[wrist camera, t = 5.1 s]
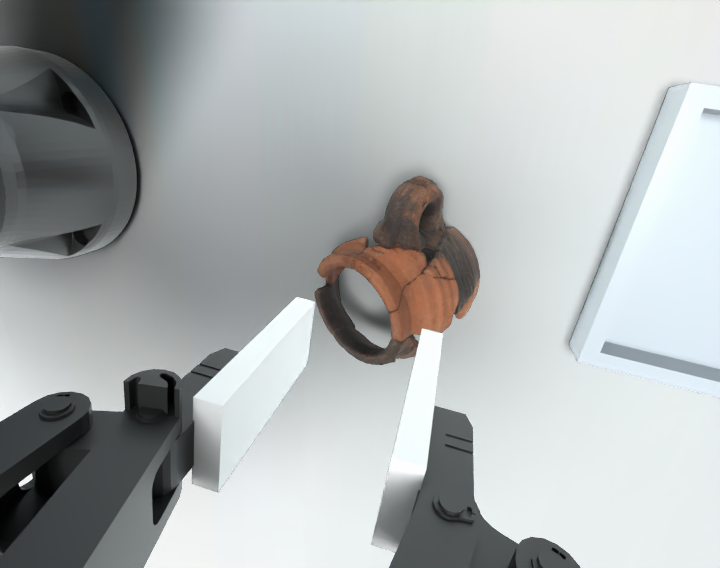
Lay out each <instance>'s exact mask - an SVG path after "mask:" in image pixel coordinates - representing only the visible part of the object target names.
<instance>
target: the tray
mask: <svg viewBox="0 0 720 568" xmlns="http://www.w3.org/2000/svg"><path fill="white" fill-rule="evenodd" d="M569 345H570V347H571V350H572V352H573V354H574V356H575V358H576V361H577V362H578V363H582V364H586V365H590V366H594V367H598V368H602V369H606V370H610V371H614V372H618V373H622V374H626V375H630V376H634V377H638V378H642V379H645V380H649V381H653V382H657V383H661V384H665V385H669V386H673V387H677V388H681V389H685V390H689V391H693V392H697V393H701V394H705V395H709V396H713V397H717V398H720V87H719V86H712V85H705V84H698V83H687V84H682V85H678V86H674V87H669V89H668V92H667V94H666V97H665V100H664V102H663V105H662V107H661V110H660V112H659V115H658V117H657V120H656V123H655V125H654V128H653V130H652V133H651V135H650V138H649V140H648V143H647V146H646V148H645V151H644V153H643V156H642V158H641V161H640V164H639V166H638V169H637V171H636V174H635V176H634V179H633V181H632V184H631V187H630V189H629V192H628V194H627V197H626V199H625V202H624V204H623V207H622V210H621V212H620V215H619V217H618V220H617V222H616V225H615V227H614V230H613V233H612V235H611V238H610V240H609V243H608V245H607V248H606V251H605V253H604V256H603V258H602V261H601V263H600V266H599V268H598V271H597V274H596V276H595V279H594V281H593V284H592V286H591V289H590V291H589V294H588V297H587V299H586V302H585V304H584V307H583V309H582V312H581V314H580V317H579V320H578V322H577V325H576V327H575V330H574V332H573V335H572V338H571V340H570V343H569Z"/></svg>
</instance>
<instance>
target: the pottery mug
mask: <svg viewBox="0 0 720 568" xmlns="http://www.w3.org/2000/svg"><path fill="white" fill-rule="evenodd" d="M442 208H443V194H442V192H441V190H440V189H439V188H438V187H437V185H436V184H435V183H434V182H433V181H432V180H430V179H427V178H424V177H422V176H417V177H415V178H413V179H411V180H408V181H406V182H404V183H403V184H402V185H400V186H399V187H398V188H397V189H396V191H395V192H394V193H393V195H392V197H391V199H390V201H389V203H388V206H387V208H386V213H385V218H384V220H382V221H380V222H379V223H378V225H377V227H376V228H375V230H374V232H373V238H374V240H375V241H376V243H378V244H379V246H374V247H368V243H369V240H368V239H367V238H365V237H363V238H359V239H354V240H352V241H347V242H345V243H344V244H342V245H340V246H339V247H337V248H336V249H335V250H334V251H333V252H332V254H331V255H329V256H327V257H326V258H324V259H323V260H322V262H321V263H320V265H319V267H318V270H317V272H318V273H319V274H320V276H321V277H326V285H325V286H323V287H321V288H318V289H317V290H316V291H315V298H316V302H317V306H318V309H319V312H320V314H321V317H322V319H323V321H324V323H325V325H326V326H327V328H328V330H329V331H330V332H331V334H333V336H334V338H335V339H336V340H337V342H338V343H339V344H340V345H341V346H342V347H343V348H344V349H345V350H346V351H347V352H348V353H349V354H351V355H352V356H354V357H355V358H356V359H358V360H360V361H363V362H365V363H367V364H368V363H370V364H375V365H383V364H387V363H391V362H395V360H396V359H398V358H400V359H405V358H410V357H415V356H416V352H417V348H418V344H419V342H418V341H417V340H416V339H415V337H414V336H413V334H417V335H421V331H422V328H423V329H427V330H431V331H435V332H439V333H442V332H443V331H444V330H445V329H447V328H448V327H449V326H450V324H451V321H452V317H453V314H456V315H455V316H456V317H457V318H458V319H461V318H463V317H464V316H465V314H466V313H467V312H468V310H469V309H470V307H471V304H472V302H473V300H474V298H475V296H476V294H477V291H478V287H479V278H480V272H479V265H478V260H477V258H476V255H475V253H474V250H473V248H472V247H471V245H470V243H469V242H468V241H467V240H466V239H465V238H464V236H463V235H462V234H461V233H460V232H459V231H458V230H457V229H456V228H454V227H451V228H445V224H444V222H443V218H442ZM424 248H429V249H432V250H434V253H433V255H432V257H431V258H430V260H429V261H427V259H426V256H425V254H424V253H423V252H422V250H423V249H424ZM345 267H347V268H352V269H355V270H356V271H357V272H359V273H360V274H362V275H363V276H364V277H365V278H366V279H367V280H368V281H369V282H370V283H371V284H372V286H373V287H374V288H375V289H376V291H377V292H378V293H379V295H380V297H381V298H382V300H383V302H384V304H385V306H386V308H387V310H388V312H389V318H390V322H391V337H392V339H391V341H390V343H389V345H388V346H387V348H385V349H384V348H381V347H379V346H377V345H375V344H373V343H371V342H370V341H369V340H368V339H367V338H366V337H365V336H364V335H362V334H361V333H360V332H358V331H357V330H356V329H355V325H354V323H353V322H352V320H351V319H350V317H349V316H348V314H347V313H346V311H345V309H344V308H343V306H342V303H341V299H340V295H339V286H338V276H339V274H340V273H341V272H342V270H343V269H344V268H345ZM395 358H396V359H395Z"/></svg>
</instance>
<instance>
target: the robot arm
mask: <svg viewBox="0 0 720 568" xmlns="http://www.w3.org/2000/svg"><path fill="white" fill-rule="evenodd" d="M136 189H137V173H136V164H135V158H134V153H133V149H132V145H131V142H130V139H129V136H128V133H127V130H126V128H125V126H124V124H123V121H122V119H121V117H120V115H119V114H118V112H117V110H116V108H115V107H114V105H113V104H112V102H111V101H110V99H109V98H108V96H107V95H106V94H105V92H104V91H103V90H102V89H101V88H100V86H99V85H98V84H97V83H96V82H95V81H94V80H93V79H92V78H91V77H90V76H89V75H88V74H86V73H85V72H84V71H83V70H81V69H80V68H79V67H77V66H76V65H74V64H73V63H71V62H70V61H68V60H66V59H64V58H62V57H60V56H57V55H55V54H52V53H48V52H44V51H39V50H34V49H28V48H23V47H18V46H4V45H0V257H12V258H41V259H63V258H70V257H75V256H78V255H82V254H85V253H88V252H91V251H95V250H98V249H100V248H102V247H104V246H106V245H108V244H109V243H111V242H112V241H113V240H114V239H115V238H117V237H118V235H119V234H120V233H121V232H122V231H123V229H124V228H125V226H126V224H127V223H128V221H129V218H130V216H131V213H132V211H133V207H134V203H135V198H136ZM314 310H315V301H311V300H307V299H303V298H299V297H296V298H295V299H294V300H293V301H292V302H291V303H290V304H289V305H288V306H287V307H286V308H284V309H283V310H282V311H281V312H280V313H279V314H278V315H277V316H276V317H275V318H274V319H273V320H272V321H271V322H270V323H269V324H268V325H267V326H266V327H265V328H264V329H263V330H262V331H261V332H260V333H259V334H258V335H257V336H256V337H255V338H254V339H253V340H252V341H251V342H249V343H248V344H247V345H246V346H245V347H244V348H243V349H242V350H241V351H240V352H236V351H233V350H229V349H222V350H220V351H217V352H215V353H212V354H210V355H209V356H208V357H207V358H205V359H204V360H203V361H202V362H201V363H200V365H197V366H196V367H195V368H194V369H193V370H192V371H191V373H188V374H187V375H186V376H185V377H184V378H182V379H180V377H179V376H178V375H176V374H175V373H174V372H170V371H167V370H156V369H153V370H147V371H141V372H139V373H136V374H134V375H131V376H130V377H129V378H127V379H126V380H125V381H124V397H125V410H124V411H123V412H111V411H92V408H91V402H90V400H89V398H88V397H87V396H85V395H83V394H81V393H76V392H60V393H56V394H52V395H48V396H45V397H43V398H41V399H39V400H36V401H35V402H33V403H31V404H30V405H28V406H26V407H24V408H23V409H21V410H19V411H18V412H16V413H14V414H13V415H11V416H9V417H8V418H6V419H4V420H3V421H1V422H0V568H144V566H145V564H146V562H147V560H148V558H149V556H150V554H151V552H152V550H153V548H154V546H155V544H156V542H157V540H158V538H159V536H160V534H161V532H162V530H163V528H164V526H165V524H166V522H167V520H168V518H169V517H170V515H171V513H172V511H173V509H174V507H175V505H176V503H177V501H178V499H179V497H180V493H181V489H182V479H183V478H184V477H185V475H186V474H187V473H188V472H189V471H190V469H191V468H192V484H194V485H197V486H200V487H203V488H206V489H209V490H212V491H215V492H218V493H219V491H220V490H221V488H222V487H223V485H224V484H225V482H226V481H227V480H228V478H229V477H230V475H231V474H232V472H233V471H234V469H235V468H236V467H237V465H238V464H239V462H240V461H241V459H242V458H243V456H244V455H245V453H246V452H247V451H248V449H249V448H250V446H251V445H252V443H253V442H254V440H255V439H256V437H257V436H258V435H259V433H260V432H261V430H262V429H263V427H264V426H265V424H266V423H267V422H268V420H269V419H270V417H271V416H272V414H273V413H274V411H275V410H276V408H277V407H278V406H279V404H280V403H281V401H282V400H283V398H284V397H285V395H286V394H287V392H288V391H289V390H290V388H291V387H292V385H293V384H294V382H295V381H296V379H297V378H298V377H299V375H300V374H301V372H302V371H303V369H304V368H305V366H306V365H307V363H308V355H309V348H310V340H311V332H312V325H313V317H314ZM442 340H443V333H439V332H435V331H431V330H427V329H423V328H422V331H421V335H420V340H419V344H418V348H417V352H416V356H415V360H414V364H413V369H412V373H411V377H410V381H409V385H408V389H407V394H406V398H405V402H404V406H403V411H402V415H401V419H400V423H399V428H398V432H397V436H396V440H395V445H394V449H393V453H392V457H391V462H390V466H389V470H388V474H387V479H386V483H385V487H384V491H383V496H382V500H381V504H380V508H379V513H378V517H377V521H376V525H375V530H374V534H373V538H372V542H371V545H374V546H376V547H379V548H382V549H385V550H388V551H391V552H394V553H395V555H394V558H393V560H392V562H391V565H390V567H389V568H580V566H579V565H578V564H577V563H576V561H575V560H574V559H573V558H572V557H571V556H570V554H569V553H567V552H566V551H565V550H563V549H562V548H561V547H559V546H558V545H557V544H555V543H552V542H550V541H548V540H546V539H543V538H535V537H530V538H527V539H524V540H522V541H521V542H520V543H519V544H517V543H516V542H514V541H512V540H511V539H509V538H508V537H506V536H504V535H503V534H501V533H500V532H498V531H497V530H495V529H494V528H493V527H491V526H490V525H489V524H488V523H487V522H486V521H485V520H484V518H483V517H482V515H481V514H480V511H479V509H478V507H477V504H476V502H475V500H474V480H473V444H472V443H473V427H472V426H471V424H470V422H469V420H468V418H467V416H466V415H465V414H462V413H458V412H455V411H451V410H448V409H444V408H441V407H437V406H434V404H435V396H436V388H437V380H438V372H439V364H440V356H441V348H442ZM31 473H32V475H33V479H32V480H31V481H29V482H28V483H26V484H25V485H23V486H21V487H19V484H18V483H19V482H20V481H22V480H23V479H24V478H26V477H27V476H28V475H30V474H31Z"/></svg>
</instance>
